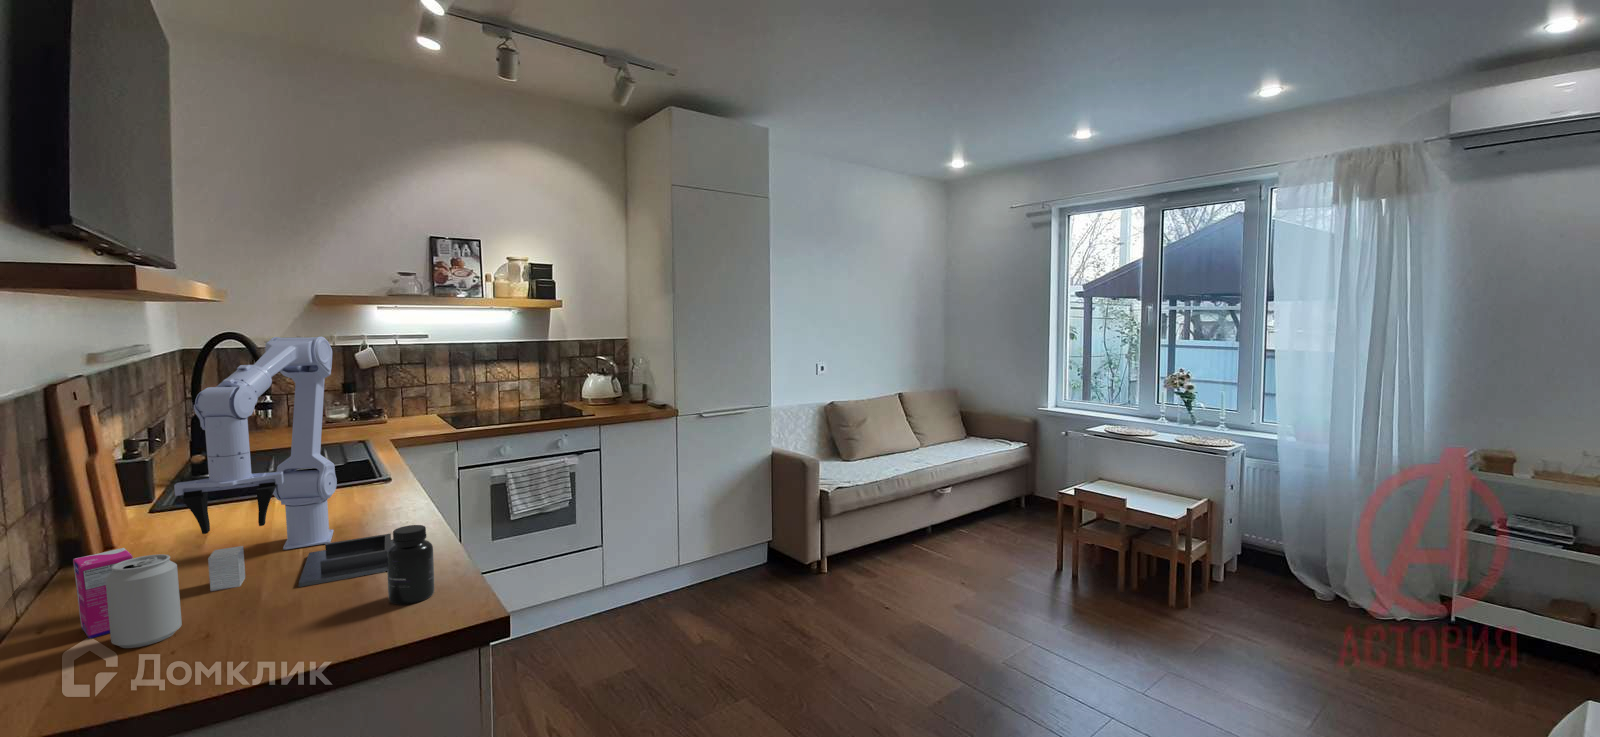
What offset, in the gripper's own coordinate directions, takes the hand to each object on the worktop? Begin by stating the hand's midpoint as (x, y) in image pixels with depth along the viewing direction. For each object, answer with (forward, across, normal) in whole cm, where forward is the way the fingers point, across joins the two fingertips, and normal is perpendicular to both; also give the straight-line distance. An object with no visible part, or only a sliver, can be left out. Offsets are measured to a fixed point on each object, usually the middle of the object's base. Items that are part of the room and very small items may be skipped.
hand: (234, 528), depth 116 cm
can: (+10, -8, -19) cm, 23 cm away
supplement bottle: (+10, +26, -24) cm, 37 cm away
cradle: (+10, +17, +1) cm, 20 cm away
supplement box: (+10, -14, -11) cm, 20 cm away
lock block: (+10, -2, +1) cm, 11 cm away
